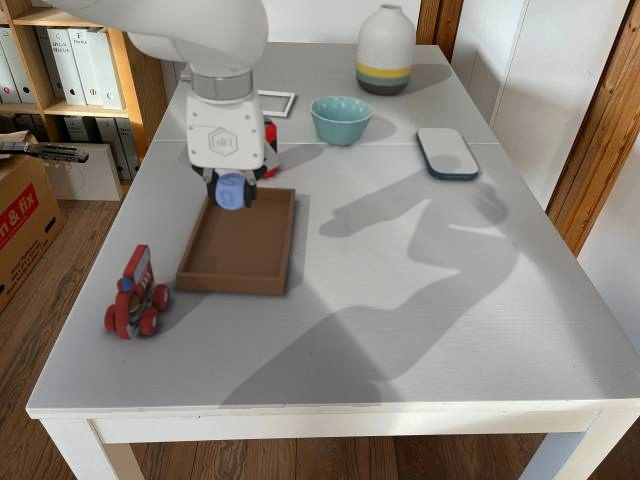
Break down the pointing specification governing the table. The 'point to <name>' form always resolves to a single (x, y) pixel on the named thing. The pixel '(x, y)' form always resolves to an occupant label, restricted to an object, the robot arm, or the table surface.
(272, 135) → the soda can
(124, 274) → the toy fire truck
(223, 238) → the tray
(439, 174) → the external hard drive
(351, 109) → the bowl
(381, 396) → the table surface
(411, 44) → the vase
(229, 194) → the decorative dice
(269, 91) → the photo frame
